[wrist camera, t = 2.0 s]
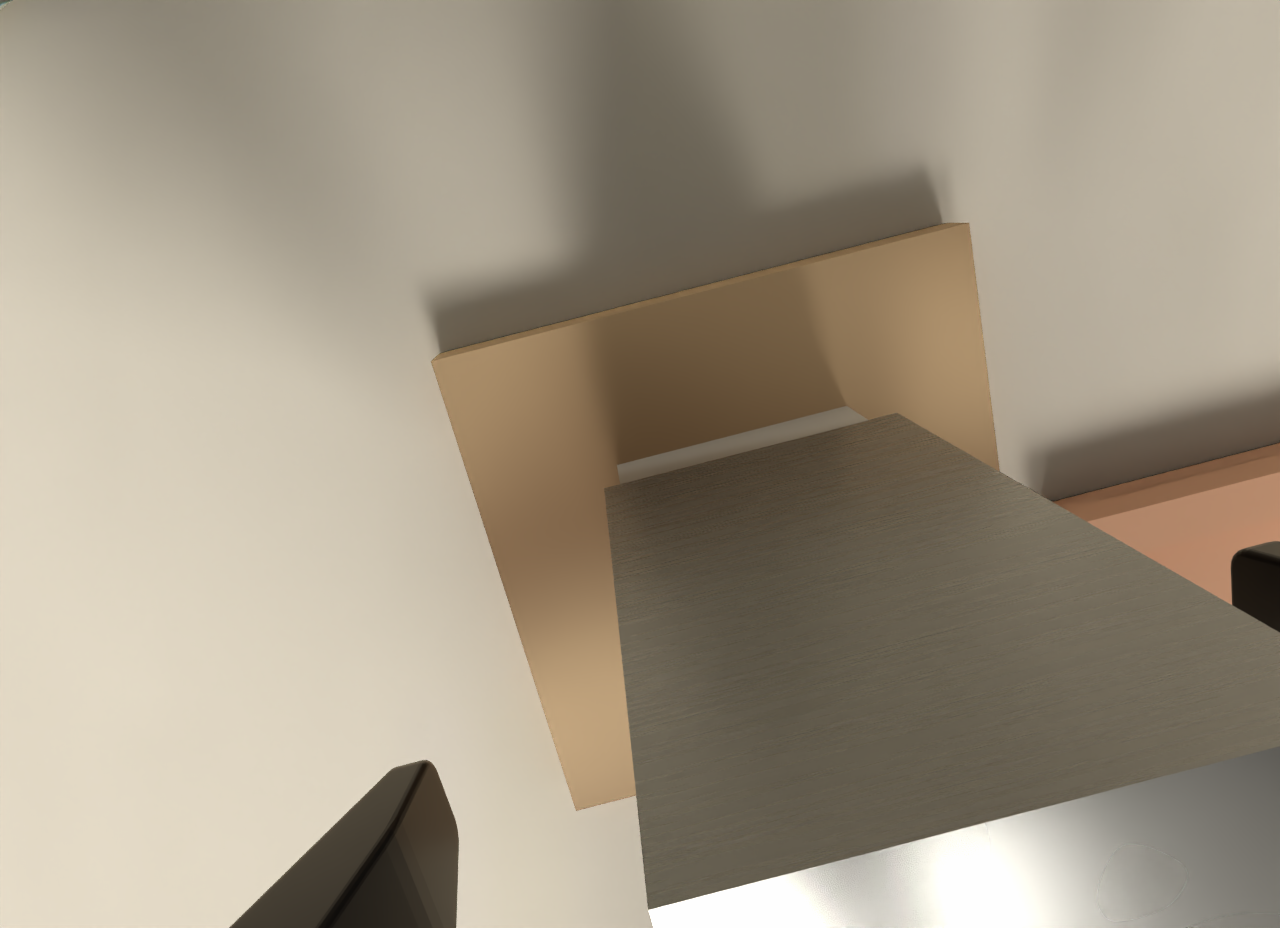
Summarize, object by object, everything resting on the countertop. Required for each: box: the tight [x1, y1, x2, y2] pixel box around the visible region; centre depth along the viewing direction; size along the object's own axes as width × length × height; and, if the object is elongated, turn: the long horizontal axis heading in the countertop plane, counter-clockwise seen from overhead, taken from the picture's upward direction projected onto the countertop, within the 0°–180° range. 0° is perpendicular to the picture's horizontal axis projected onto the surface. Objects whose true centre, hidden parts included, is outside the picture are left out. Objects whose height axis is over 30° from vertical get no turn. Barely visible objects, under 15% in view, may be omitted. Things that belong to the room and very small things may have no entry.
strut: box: [604, 413, 1280, 928], centre depth 8 cm, size 4×4×7 cm
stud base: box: [431, 223, 1000, 811], centre depth 13 cm, size 8×8×2 cm
